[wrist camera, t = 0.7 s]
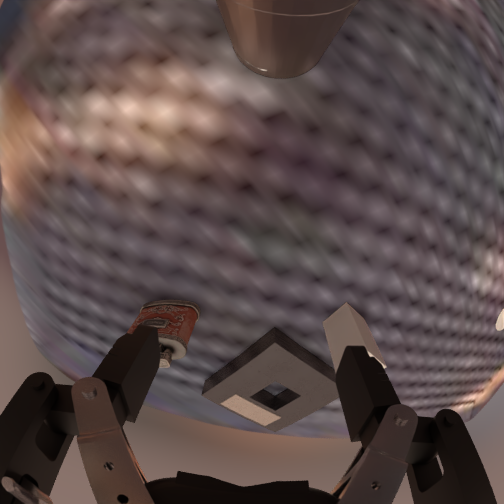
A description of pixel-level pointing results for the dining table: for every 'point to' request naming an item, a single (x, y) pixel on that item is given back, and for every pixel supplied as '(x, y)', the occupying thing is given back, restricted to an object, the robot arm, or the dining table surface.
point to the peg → (349, 334)
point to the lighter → (169, 326)
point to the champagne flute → (500, 321)
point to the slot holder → (266, 372)
